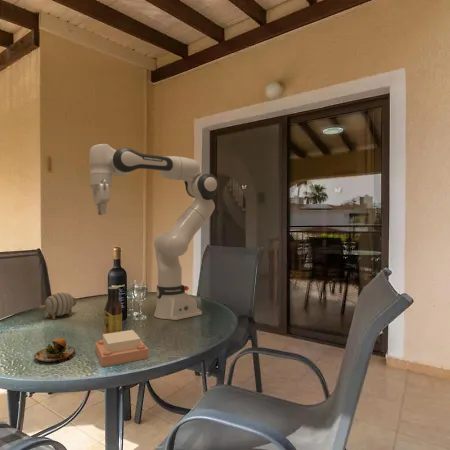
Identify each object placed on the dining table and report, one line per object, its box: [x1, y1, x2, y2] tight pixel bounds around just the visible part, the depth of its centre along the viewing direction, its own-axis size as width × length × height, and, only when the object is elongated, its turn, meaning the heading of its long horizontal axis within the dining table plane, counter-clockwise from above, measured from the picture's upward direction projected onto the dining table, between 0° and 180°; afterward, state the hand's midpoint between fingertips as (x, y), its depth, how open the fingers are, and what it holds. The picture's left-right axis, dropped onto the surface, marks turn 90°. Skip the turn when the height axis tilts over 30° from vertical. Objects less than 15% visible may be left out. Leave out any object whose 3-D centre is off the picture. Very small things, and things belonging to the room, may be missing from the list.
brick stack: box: [94, 329, 149, 368], centre depth 108 cm, size 14×14×6 cm
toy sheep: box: [38, 292, 77, 320], centre depth 150 cm, size 11×17×11 cm, turn 149°
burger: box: [33, 332, 76, 364], centre depth 106 cm, size 12×12×8 cm
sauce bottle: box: [103, 286, 123, 334], centre depth 120 cm, size 7×6×20 cm
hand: (102, 214), depth 139 cm, fingers open, 8 cm apart
